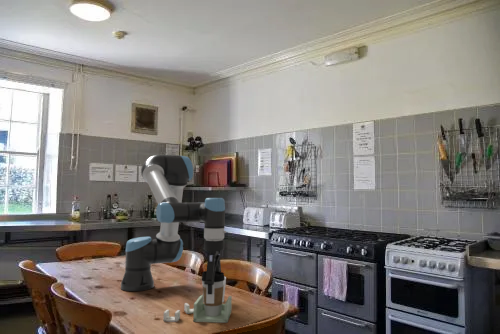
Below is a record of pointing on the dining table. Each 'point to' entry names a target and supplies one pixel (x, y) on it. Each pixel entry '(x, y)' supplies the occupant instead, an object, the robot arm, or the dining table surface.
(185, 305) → the clip
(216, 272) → the coffee cup
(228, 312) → the holder
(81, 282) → the dining table surface
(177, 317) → the clip
